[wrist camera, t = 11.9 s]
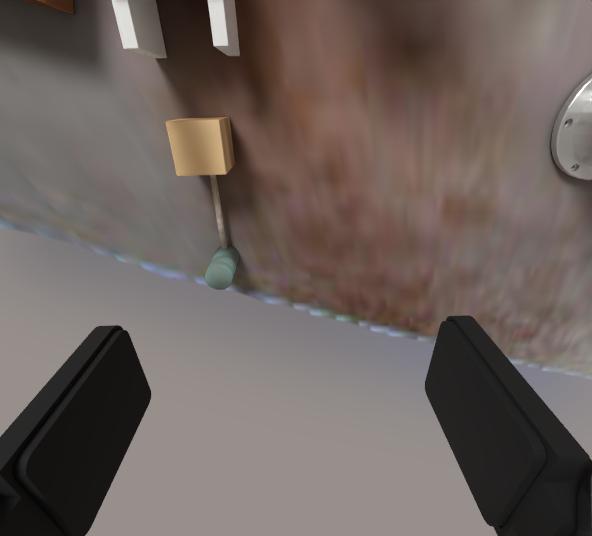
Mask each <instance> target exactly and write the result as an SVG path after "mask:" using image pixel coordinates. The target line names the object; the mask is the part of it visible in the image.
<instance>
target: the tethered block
mask: <svg viewBox="0 0 592 536" xmlns="http://www.w3.org/2000/svg"><path fill="white" fill-rule="evenodd" d="M166 126H167V131H168V136H169V140H170V145H171V150H172V154H173V159H174V164H175V168H176V173H177V176H187V175H210V179H211V185H212V192H213V198H214V204H215V210H216V216H217V223H218V229H219V235H220V241H221V247H220V248H218V250H217V251H216V253H215V255H214V257H213V259H212V261H211V263H210V265H209V267H208V269H207V271H206V274H205V280H206V282H207V284H208V285H209V286H210V287H212V288H214V289H218V290H222V289H226V288H227V287H229V286H230V284H231V282H232V279H233V276H234V273H235V270H236V267H237V264H238V261H239V253H238V251H237V250H236V249H235V248H234V247H232V246H229V245H227V244H226V237H225V231H224V224H223V217H222V211H221V204H220V198H219V191H218V185H217V178H216V175H222V174H227V173H228V172H229V171H230V169H231V168H232V167H233V166H234V165H235V160H234V152H233V143H232V135H231V127H230V118H229V117H213V118H183V119H177V120H170V121H166Z"/></svg>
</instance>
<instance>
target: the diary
mask: <svg viewBox="0 0 592 536" xmlns="http://www.w3.org/2000/svg"><path fill="white" fill-rule="evenodd" d="M23 1H27V2H30V3H34V4H38V5H41V6H45V7H48V8H52V9H56V10H59V11H63V12H66V13H70V14H74V8H73V0H23Z"/></svg>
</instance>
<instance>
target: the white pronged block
mask: <svg viewBox="0 0 592 536" xmlns="http://www.w3.org/2000/svg"><path fill="white" fill-rule="evenodd" d="M112 3H113V7H114V11H115V15H116V19H117V23H118V27H119V31H120V35H121V39H122V43H123V47H124V49H127V50H130V51H133V52H136V53H139V54H143V55H146V56H149V57H152V58H167V55H166V50H165V45H164V40H163V35H162V30H161V24H160V19H159V14H158V9H157V4H156V0H112ZM208 6H209V14H210V22H211V30H212V37H213V45H214V47H216V48H217V49H219V50H220V51H221V52H223V53H224V54H226V55H227V56H240V50H239V40H238V29H237V19H236V8H235V0H208Z"/></svg>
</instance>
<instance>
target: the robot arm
mask: <svg viewBox="0 0 592 536" xmlns="http://www.w3.org/2000/svg"><path fill="white" fill-rule="evenodd" d="M551 150H552V155H553V158H554V161H555V163H556V165H557V166H558V167H559V168H560V169H561V171H563V172H564V173H566V174H567V175H569V176H572V177H575V178H579V179H584V180H592V74H591V75H589V76H588V77H587V78H586V79H585V80H584V81H583V82H582V83H581V84H580V85H579V86H578V87H577V88H576V89H575V90H574V91H573V93H572V94H571V95H570V97H569V98H568V99H567V101H566V102H565V104H564V106H563V107H562V109H561V111H560V113H559V115H558V117H557V120H556V122H555V125H554V129H553V133H552V138H551ZM425 391H426V394H427V397H428V399H429V401H430V403H431V405H432V407H433V410H434V412H435V414H436V416H437V418H438V421H439V423H440V425H441V427H442V429H443V432H444V434H445V436H446V438H447V440H448V442H449V445H450V447H451V449H452V451H453V453H454V455H455V458H456V460H457V462H458V464H459V466H460V469H461V471H462V473H463V475H464V477H465V479H466V482H467V484H468V486H469V488H470V490H471V492H472V495H473V497H474V499H475V501H476V503H477V505H478V508H479V510H480V512H481V514H482V516H483V518H484V520H485V521H486V523H487V524H488V525H489V526H493V527H494V529H495V531H496V533H497V535H498V536H592V460H591V459H590V458H589V455H588V454H587V453H586V452H585V451H584V449H583V448H582V447H581V446H580V445H579V443H578V442H577V441H576V440H575V439H574V438H573V436H572V435H571V434H570V433H569V431H568V430H567V429H566V428H565V427H564V425H563V424H562V423H561V422H560V421H559V420H558V418H557V417H556V416H555V415H554V414H553V412H552V411H551V410H550V409H549V408H548V406H547V405H546V404H545V403H544V402H543V400H542V399H541V398H540V397H539V396H538V395H537V393H536V392H535V391H534V390H533V388H532V387H531V386H530V385H529V384H528V383H527V381H526V380H525V379H524V378H523V377H522V375H521V374H520V373H519V372H518V371H517V369H516V368H515V367H514V366H513V365H512V363H511V362H510V361H509V360H508V359H507V357H506V356H505V355H504V354H503V353H502V352H501V350H500V349H499V348H498V347H497V346H496V344H495V343H494V342H493V341H492V340H491V338H490V337H489V336H488V335H487V334H486V332H485V331H484V330H483V329H482V328H481V326H480V325H479V324H478V323H477V322H476V321H475V319H474V318H473V317H472V316H449V317H448V318H447V319H446V321H443V322H442V323H441V325H440V328H439V332H438V336H437V340H436V343H435V347H434V351H433V355H432V359H431V362H430V366H429V370H428V373H427V377H426V381H425ZM150 399H151V390H150V387H149V385H148V382H147V379H146V377H145V375H144V372H143V369H142V367H141V364H140V361H139V359H138V356H137V354H136V351H135V348H134V346H133V343H132V341H131V338H130V336H129V333H128V332H127V331H126V330H123V328H122V327H121V326H98V327H96V328H95V329H94V330H93V331H92V332H91V333H90V334H89V335H88V337H87V338H86V339H85V340H84V341H83V342H82V344H81V345H80V346H79V347H78V348H77V349H76V350H75V352H74V353H73V354H72V355H71V356H70V357H69V358H68V360H67V361H66V362H65V363H64V364H63V365H62V367H61V368H60V369H59V370H58V371H57V372H56V374H55V375H54V376H53V377H52V378H51V379H50V380H49V381H48V383H47V384H46V385H45V386H44V387H43V388H42V390H41V391H40V392H39V393H38V394H37V395H36V397H35V398H34V399H33V400H32V401H31V402H30V403H29V405H28V406H27V407H26V408H25V409H24V410H23V412H22V413H21V414H20V415H19V416H18V417H17V419H16V420H15V421H14V422H13V423H12V424H11V425H10V426H9V428H8V429H7V430H6V431H5V432H4V434H3V435H2V436H1V437H0V536H85V535H86V534H87V532H88V531H89V529H90V528H91V526H92V524H93V522H94V519H95V517H96V515H97V513H98V511H99V509H100V507H101V505H102V502H103V500H104V498H105V496H106V494H107V492H108V490H109V488H110V486H111V483H112V481H113V479H114V477H115V475H116V473H117V471H118V469H119V466H120V464H121V462H122V460H123V458H124V455H125V453H126V452H127V449H128V447H129V445H130V443H131V441H132V439H133V437H134V435H135V433H136V430H137V428H138V426H139V424H140V422H141V420H142V418H143V416H144V413H145V411H146V409H147V407H148V405H149V403H150Z"/></svg>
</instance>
